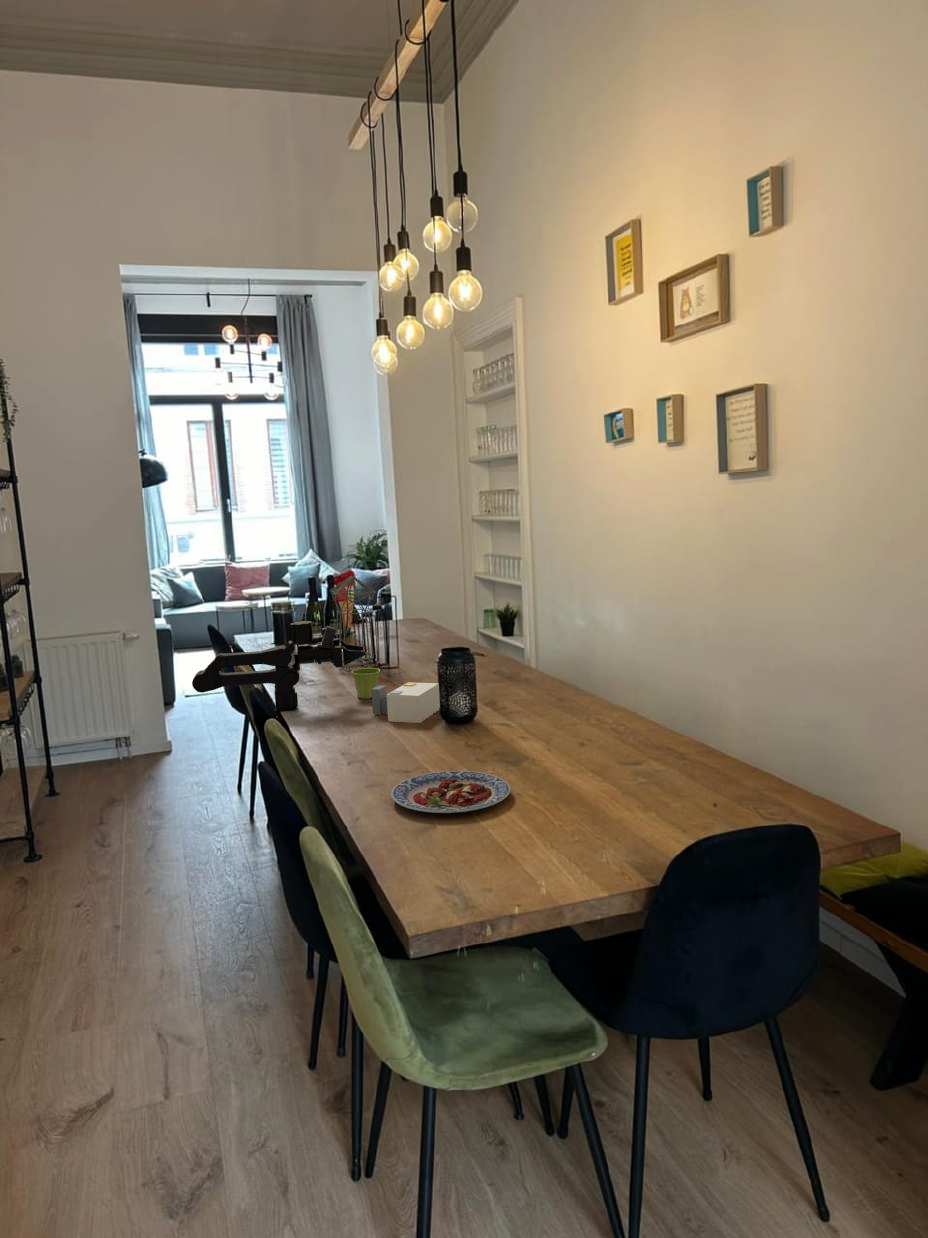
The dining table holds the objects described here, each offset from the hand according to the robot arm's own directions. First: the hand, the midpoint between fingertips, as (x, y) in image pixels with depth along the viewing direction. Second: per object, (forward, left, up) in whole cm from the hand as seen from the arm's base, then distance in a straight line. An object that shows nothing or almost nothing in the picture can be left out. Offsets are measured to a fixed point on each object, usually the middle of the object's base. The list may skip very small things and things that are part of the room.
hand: (364, 650), depth 281 cm
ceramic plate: (+11, -95, -17) cm, 97 cm away
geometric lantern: (+1, +56, -17) cm, 59 cm away
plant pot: (+1, +7, -17) cm, 18 cm away
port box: (+12, -22, -17) cm, 30 cm away
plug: (+6, -18, -16) cm, 25 cm away
